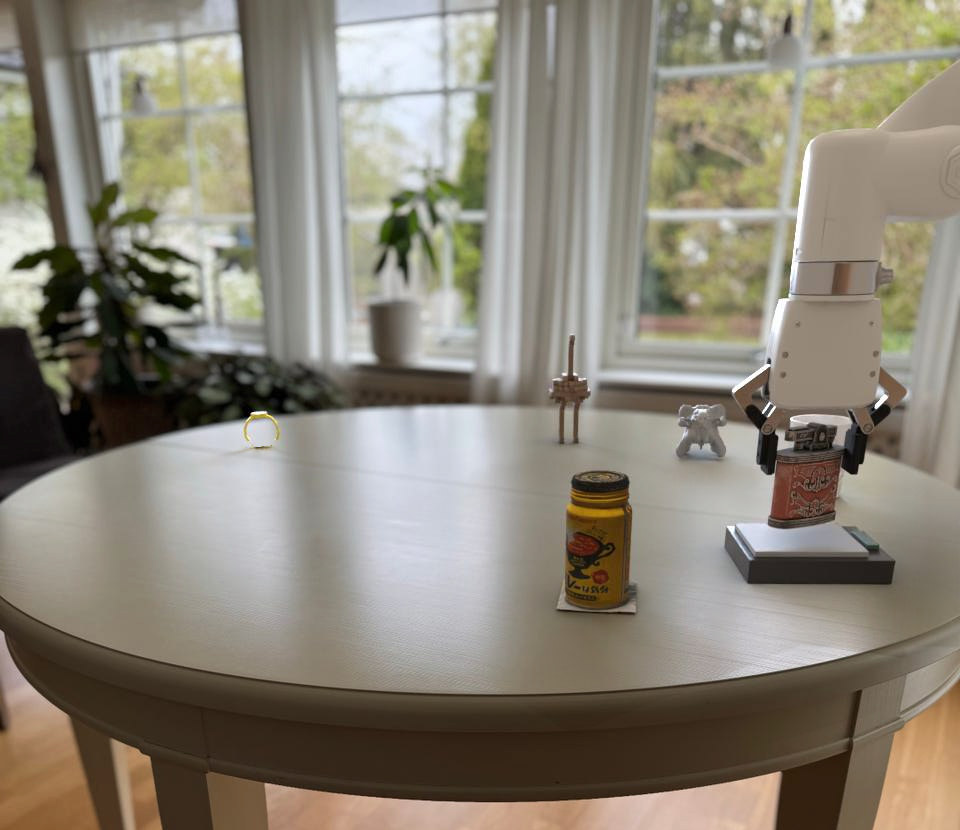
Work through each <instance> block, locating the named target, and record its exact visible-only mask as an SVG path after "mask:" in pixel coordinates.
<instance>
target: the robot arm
mask: <svg viewBox="0 0 960 830" xmlns="http://www.w3.org/2000/svg"><path fill="white" fill-rule="evenodd" d="M798 201H799V202H798V210H797V219H796V227H795V237H794V247H793V254H792V263H791V272H790V279H789V281H790V282H789V290H788V298H780V299H778V303H777V305H776V308H775V312H774V314H773V315H774V316H773V320H772V323H771V328H770V332H769V336H768V341H767V346H766V352H765V356H764V357H765V358H764V363H763V367H761V368H760V369H758V370H757V371H755V372H754V373H753V374H752V375H750V376H749V377H747V378H745V380H743V381H742V382H741V383H739V384H738V385H736V386H735V387H734V388H733V389H732V390H731V396H732V397H733V399H734V400H735V402H736V403H737V405H738V406H739V408H740V409H741V411H742V412H743V414H744V415H745V416H746V418H747V419H748V420H749V421H750V422H751V423H752V424H753V425H754V427H755V428H756V429H757V430H758V438H757V446H756V456H755V462H756V465H757V466H760V470H761V472H763V474H765V475H766V476H772V475H775V470H776V455H777V451H778V447H779V438H780V437H779V435H778V434H777V433H776V432H777V431H776V430H777V427H778V426H779V424H780V423H781V421H782V420H783V418H784V417H785V416H786V414H787V412H788V411H789V410H845V411H846V414H847V417H848V418H850V420H851V423H852V424H851V429H848V431H846V434H845V441H844V447H845V453H844V455H843V456H842V462H841V468H842V469H844V470H845V472H846V473H848V474H849V475H851V476H856V475H858V473H859V468H860V465H863V464H864V462H865V459H866V458H865V457H866V450H867V445H868V444H867V443H868V438H869V435H870V434H871V433H873V432H874V430H875V428H876V427H877V426H878V425H879V424H881V423H882V422H883V421H884V420H885V419H886V418H888V416H890V414H891V412H892V410H893V409H895V408H896V407H897V406H898V404H899V403H901V401H902V400H903V399H904V398H906V396H907V393H908V389H907V388H906V387H905V386H903V384H902V383H900V382H899V381H898V380H897V379H896V378H895V377H894V376H892V375H891V374H890V373H889V372H888V371H886V370H885V369H884V368H883V367H882V366H881V361H882V360H881V359H882V348H883V346H882V345H883V313H882V312H883V311H882V299H881V298H876V297H875V295H876V294H875V293H878V291H879V288H880V287H882V286H884V285H891V284H892V283H893V279H894V270H893V268H886V267H883V266H882V261H880V260H881V255H882V248H883V241H884V235H885V228H886V224H895V223H925V222H936V221H943V220H947V219H951V218H953V217H956V216H957V215H960V59H958V60H957V61H955V62H954V63H953V64H951V65H949V66H948V67H947V68H945V69H944V70H943V71H941V72H940V73H938V74H937V75H936V76H934V77H933V78H931V79H930V80H929V81H927V83H925V84H924V85H922V86H921V87H920V88H918V89H917V90H916V91H915V92H914V93H912V94H911V95H910V96H909V97H908V98H907V99H905V100H904V101H903V102H902V103H901V104H900V105H899V106H898V107H897V108H895V110H894V111H892V112H891V113H890V114H889V115H888V116H887V117H886V118H885V119H884V120H883V121H882V122H881V123H880V124H879V125H878V126H877V127H876V128H846V129H845V128H844V129H838V130H837V129H836V130H831V131H827V132H822V133H820V134H818V135H816V136H815V137H814V138H812V139H811V140H810V142H809V143H808V145H807V147H806V150H805V152H804V159H803V166H802V175H801V184H800V194H799V200H798ZM878 387H880V389H882V390H883V396H882V397H881V398H880V400H879V401H878V402H875V403H874V401H875V398H876V396H877V391H878ZM759 389H760V396H761V398H762V400H764V401H767V402H768V404H767V405H766V406H765V408H764V409H763V411H761V410H760V409H759V407H757V405H756V404H755V402H754V400H753V398H752V396H753V394H754V393H755V392H756V391H758V390H759ZM872 403H874V404H873V405H872V406H870V405H871V404H872ZM867 406H870V408H867Z"/></svg>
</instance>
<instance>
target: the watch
mask: <svg viewBox="0 0 960 830" xmlns="http://www.w3.org/2000/svg"><path fill="white" fill-rule="evenodd" d="M262 418H266V419H269V420H270V421H272V423H273V424H274V425H275V429H276V436H275V438H274V440H278V441H279V438H280V432H281V431H280V428H279V423H278V421H277V420H276V419H275V418H274V417H273V416H272V415H270V414H268V412H267V411H254V412H251V413H250V416H249V417H248V418H247V419H246V421H245V423H244V426H243V433H244V434H243V435H244V438H245V440H246V441H247V442H248V441H250V440H251V439H250V437H249V436H248V432H247V428H248V425H249V423H250V422H251V421H252V420H253V419H262Z"/></svg>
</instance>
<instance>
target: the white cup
mask: <svg viewBox="0 0 960 830" xmlns="http://www.w3.org/2000/svg"><path fill="white" fill-rule="evenodd" d="M810 422H816V423H821V424H825V425H836V426H838V427H837V434H836V436H835V439H834V441H833V443H832V444H836V445H841V446H844V441H845V434H846V431H848V429H851V424H852V423H851V420H850V418H849V416H843V415H834V414H821V413H820V414H819V413H818V414H816V413H815V414H799V415H793V416H792V417H790V420H789V428H790V427H798V426H807V424H808V423H810ZM793 447H794V442H789V441H788V447H787V448H793ZM841 462H842V460H841ZM845 472H846V471H845V470H844V469H842V468H841V467H840V474H839V481H838V488H837V495H836V499H838V498H839V496H840V495H841V489H842V484H843V478H844V476H845V474H846V473H845Z"/></svg>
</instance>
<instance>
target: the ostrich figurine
mask: <svg viewBox="0 0 960 830" xmlns="http://www.w3.org/2000/svg"><path fill="white" fill-rule="evenodd" d="M567 340H568V343H567V344H568V345H567V372H560V377H555V378H551V385H550V387H548V399H549V400H553V403H554V404H558V407H559V409H558V443H559V444H565V410H566V407H567V404H568V403H572V404H573V410H572V412H573V413H572V419H573V420H572V442H573V443H574V444H576V443H577V444H578V443H579V438H580V437H579V414H580V413H579V412H580V406H581V403H584V401H586V399H589V397H591V393H592V391H591V389H590V388H589V386H588V379H587V378H585V377H580V375H578V373H577V372H574V355H575V354H574V350H575V341H576V335H575V334H574V333H569V334H568V339H567Z"/></svg>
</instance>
